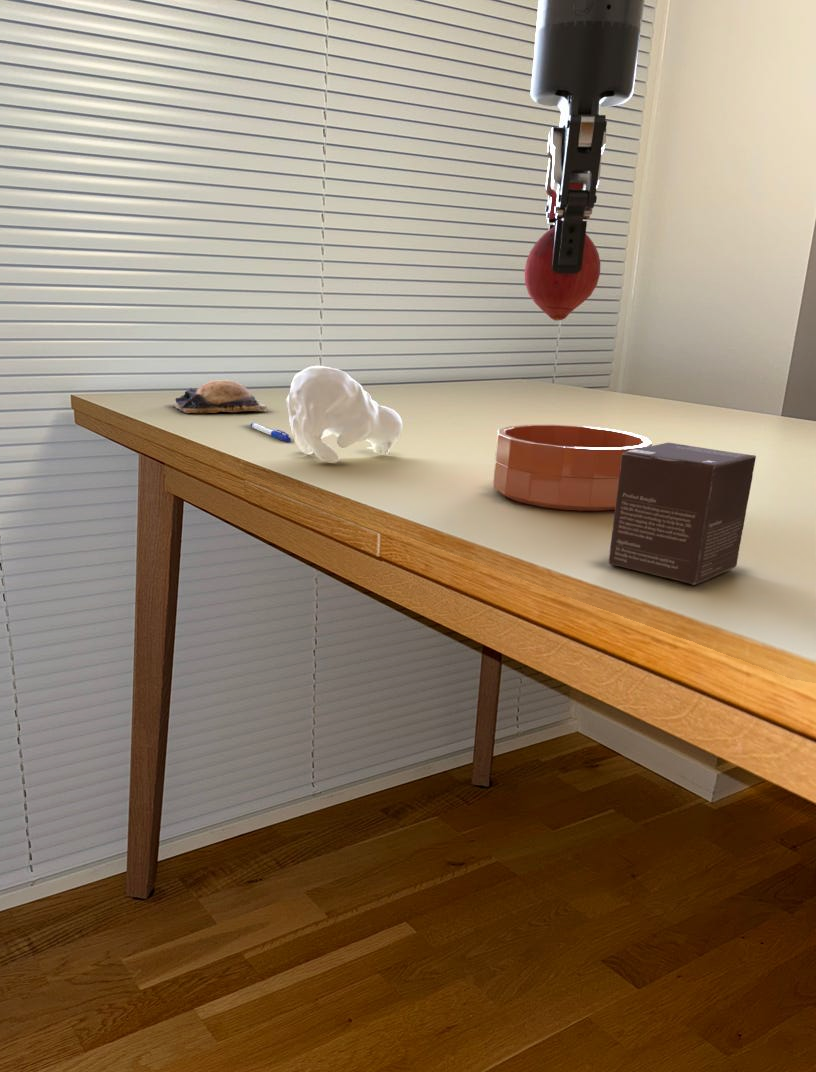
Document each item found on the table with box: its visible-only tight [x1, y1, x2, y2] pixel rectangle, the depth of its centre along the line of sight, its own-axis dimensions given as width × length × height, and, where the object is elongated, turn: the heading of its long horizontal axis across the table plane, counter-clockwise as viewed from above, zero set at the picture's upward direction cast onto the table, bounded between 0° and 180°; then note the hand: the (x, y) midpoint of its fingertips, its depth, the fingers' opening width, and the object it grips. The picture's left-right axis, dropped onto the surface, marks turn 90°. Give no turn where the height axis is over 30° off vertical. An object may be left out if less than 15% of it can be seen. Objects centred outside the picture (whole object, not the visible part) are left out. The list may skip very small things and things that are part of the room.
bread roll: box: [173, 379, 268, 415], centre depth 122 cm, size 11×8×4 cm
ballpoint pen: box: [250, 422, 292, 443], centre depth 105 cm, size 10×1×1 cm, turn 28°
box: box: [608, 442, 757, 586], centre depth 60 cm, size 6×6×7 cm
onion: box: [524, 219, 601, 322], centre depth 76 cm, size 6×6×8 cm
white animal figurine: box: [285, 365, 404, 464], centre depth 93 cm, size 6×8×12 cm
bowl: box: [492, 424, 653, 512], centre depth 80 cm, size 12×12×5 cm
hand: (561, 272), depth 77 cm, fingers closed on onion, 6 cm apart
